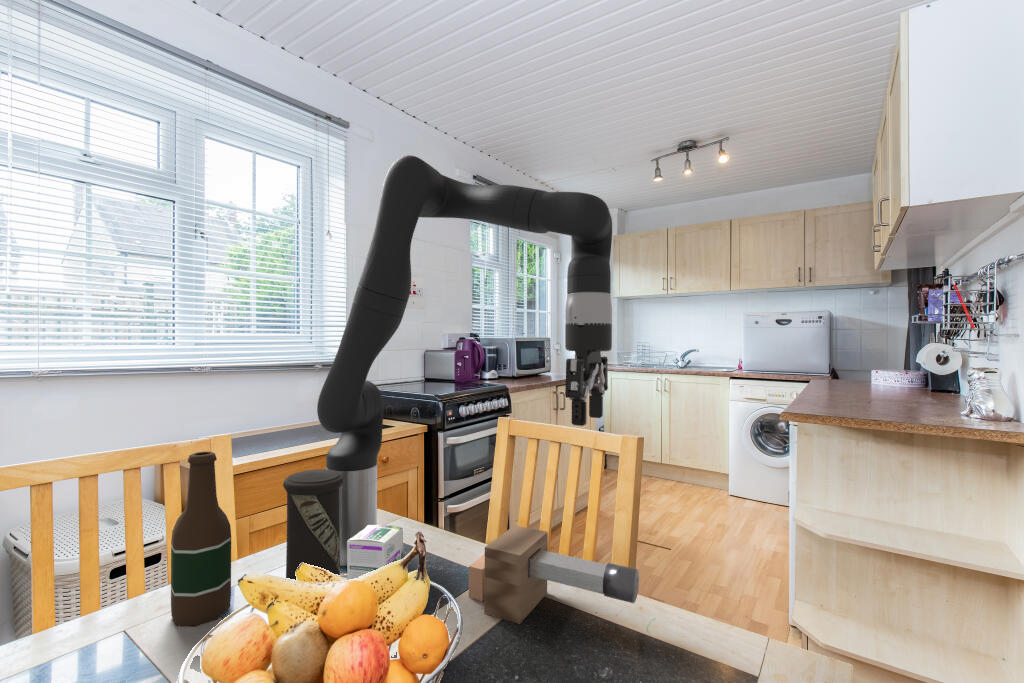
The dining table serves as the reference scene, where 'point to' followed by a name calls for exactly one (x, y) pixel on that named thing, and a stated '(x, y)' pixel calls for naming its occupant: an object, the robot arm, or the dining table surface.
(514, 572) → the bearing block
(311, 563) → the container
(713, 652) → the dining table surface
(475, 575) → the block
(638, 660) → the dining table surface
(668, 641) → the dining table surface
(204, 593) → the beer bottle
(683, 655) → the dining table surface
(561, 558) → the shaft
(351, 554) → the syrup box
